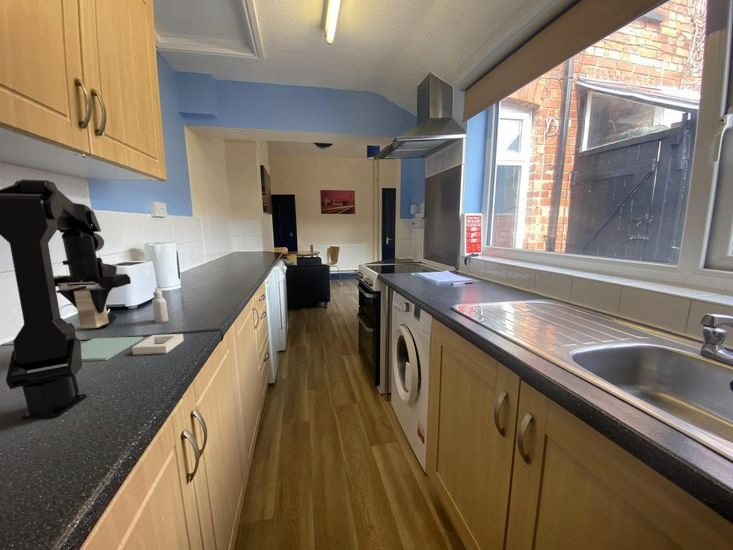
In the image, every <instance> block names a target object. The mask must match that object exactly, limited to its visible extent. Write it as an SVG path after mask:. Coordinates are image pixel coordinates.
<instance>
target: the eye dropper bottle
mask: <svg viewBox="0 0 733 550" xmlns="http://www.w3.org/2000/svg"><path fill="white" fill-rule="evenodd" d="M152 294H153V299H152V300H151V305H152V311H153V317H154V322H155V323H158V324H164V323H167V322H169V313H168V306H167V301H166V299H165V298H164V297H163V292H162V290H159V287H155V291H154V292H153V293H152Z"/></svg>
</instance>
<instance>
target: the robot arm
mask: <svg viewBox="0 0 733 550" xmlns="http://www.w3.org/2000/svg"><path fill="white" fill-rule="evenodd" d="M57 231H59V232H60V233H61V239H62V243H63V247H64V253H65V258H66V260H62V265H63V266H68V272H69V275H67V274H66V275H54V271H53V265H52V259H51V253H50V252H51V251H50V245H49V242H50V241H51V239H52V238H53V237H54V235H55V234H56V232H57ZM99 232H100V233H101V232H102V229H101V227H100V223H99V221H98V219H97V216H96V213H95V212H94V210H92V209H91V208H90V207H89V206H88V205H85V204H83V203H77V202H76V203H75V202H73V201H72V200H71V199H70V198H69V197H67V196H66V195H65V194H64V193H62V192H61V190H59V189H58V187H57V186H56V183H55V182H53V181H50V180H45V179H24V178H23V179H20V180H16V181H15V182H14V183H13V184H11V185H9V186H7V187H3V188H1V189H0V236H1V237H2V238H3V239H4V240H5V241H6V242H7V243H9V246H10V247H9V248H10V252H11V258H12V264H13V269H14V274H15V275H14V276H15V281H16V285H17V292H18V296H19V302H20V307H21V313H22V319H23V325H22V327H21V328H20V330H19V332H18V334H17V335H16V336H15V338H14V339H13V349H12V352H11V356H10V361H9V365H8V370H7V373H6V378H5V383H6V384H7V386H8V387H9V389H10V390H13V389H16V388H20V387H22V391H23V394H24V395H23V396H24V398H25V402H26V406H27V411H25V412H23V413H22V414H20V415H19V416H20V418H21V419H35V418H37V419H38V418H55V417H58V416H61V415H62V414H64V413H65V412H67V411H68V410H70V408H73V406H75V405H77V404H78V403H79V402H81V401H82V400H84V399H85V398H87V394H86V393H80V391H79V385H78V381H77V377H76V375H77V374H78V372H80V371H81V369H82V368H83V361H82V356H81V344H82V343H81V341H80V339H79V338H78V337H77V334H76V330H75V329H76V327H75V325H74V324H73V323H71V322H70V323H69V322H67V321H66V320H64V319H63V318H62V317H61V312H60V311H61V310H60V307H59V301H58V294H60V295H61V296H63V297H64V298H65V299H67V301H69V302H70V303H71V305H72V306H74V307H75V308H76V309H77V306H76V301H75V296H74V291H78V290H82V289H86V288H88V287H87V286H94V288H95V289H92V290H89V292H90V294H91V297H92V299H93V302H94V304H95V307H96V309H97V311H98V313H102V312H103V311H104V308H105V305H107V299H108V297H109V295H110V292H111V291H112V290H113V289H116V288H119V287H123V286H127V285H130V284H132V282H131V277H130V276H129V275H128V274H127V273H117V270H118V267H117V266H116V265H113V264H110V263H109V264H108V263H104V262H103V259H102V258H101V257H97V252H98V251H101V250H102V249H103V248H104V246H105V239H103V236H101V235H100V234H98V233H99ZM57 287H58V290H57V289H56V288H57ZM62 365H63V366H62ZM55 366H59V367H55ZM49 367H53V368H49ZM44 368H45V369H44ZM47 368H48V369H47ZM39 369H43V370H39ZM33 370H37V371H33ZM28 371H30V372H28ZM31 371H32V372H31Z"/></svg>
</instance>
